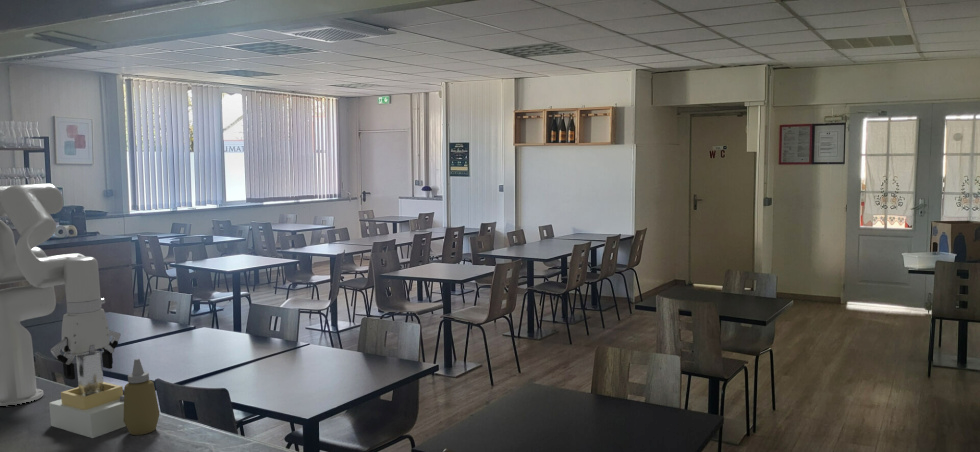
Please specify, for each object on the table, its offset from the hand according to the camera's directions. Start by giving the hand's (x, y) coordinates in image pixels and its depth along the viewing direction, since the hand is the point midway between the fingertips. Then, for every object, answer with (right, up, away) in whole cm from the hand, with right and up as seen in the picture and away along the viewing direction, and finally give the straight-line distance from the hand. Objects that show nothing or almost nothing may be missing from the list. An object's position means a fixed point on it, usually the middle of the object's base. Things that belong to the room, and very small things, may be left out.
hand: (89, 373), depth 186 cm
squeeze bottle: (+16, -13, -5) cm, 21 cm away
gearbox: (+1, -13, +1) cm, 13 cm away
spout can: (+1, -7, +1) cm, 7 cm away
